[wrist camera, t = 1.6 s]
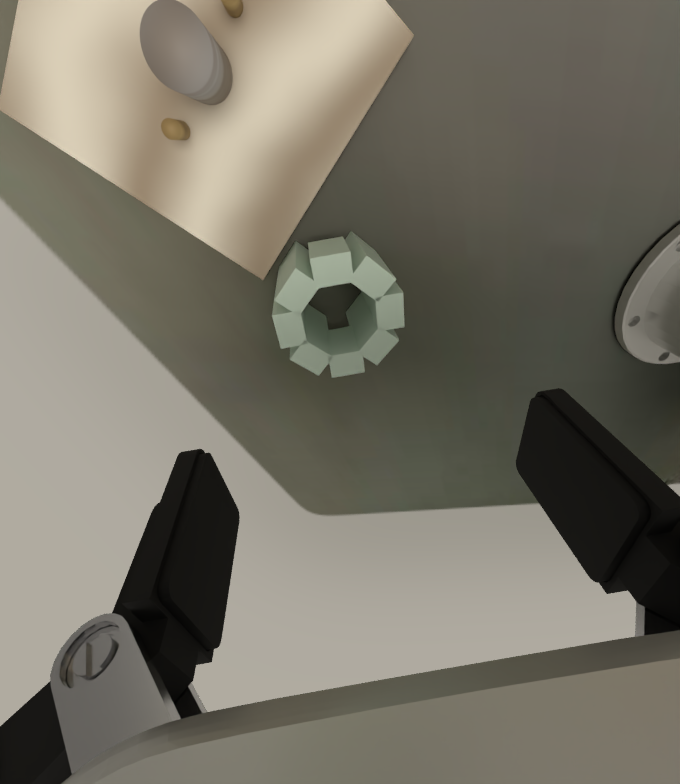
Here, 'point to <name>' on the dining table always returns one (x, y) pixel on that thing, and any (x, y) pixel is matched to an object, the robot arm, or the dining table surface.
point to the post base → (229, 143)
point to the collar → (365, 316)
